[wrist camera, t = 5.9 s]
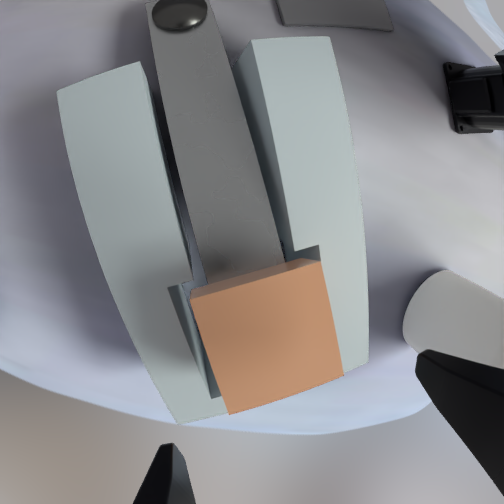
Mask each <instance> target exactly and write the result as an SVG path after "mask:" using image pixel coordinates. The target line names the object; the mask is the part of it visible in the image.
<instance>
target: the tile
mask: <svg viewBox="0 0 504 504" xmlns="http://www.w3.org/2000/svg"><path fill="white" fill-rule="evenodd" d="M190 303H191V306H192V309H193V313H194V316H195V319H196V322H197V325H198V328H199V332H200V335H201V338H202V341H203V344H204V347H205V350H206V353H207V356H208V358H209V361H210V364H211V367H212V370H213V373H214V376H215V378H216V381H217V384H218V387H219V389H220V392H221V395H222V398H223V400H224V403H225V406H226V408H227V411H228V413H229V415H231V414H234V413H238V412H242V411H245V410H248V409H252V408H255V407H258V406H262V405H265V404H268V403H271V402H274V401H277V400H280V399H283V398H286V397H289V396H292V395H295V394H298V393H300V392H303V391H306V390H309V389H311V388H314V387H316V386H319V385H322V384H324V383H327V382H329V381H332V380H334V379H337V378H339V377H341V376H344V373H343V367H342V361H341V356H340V350H339V345H338V340H337V335H336V330H335V325H334V320H333V315H332V310H331V305H330V301H329V296H328V292H327V287H326V283H325V278H324V274H323V269H322V265H321V261H316V260H310V259H304V258H299V259H295V260H292V261H289V262H285V263H282V264H278V265H275V266H271V267H268V268H265V269H261V270H258V271H254V272H251V273H247V274H244V275H240V276H237V277H233V278H230V279H226V280H223V281H219V282H216V283H212V284H209V285H205V286H201V287H198V288H194V289H191V294H190Z"/></svg>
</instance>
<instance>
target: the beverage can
mask: <svg viewBox="0 0 504 504" xmlns="http://www.w3.org/2000/svg"><path fill="white" fill-rule="evenodd" d="M403 336H404V339H405V341H406V342H407V344H408V345H409V346H411V347H412V348H413V349H414V350H415V351H416V352H417V353H421V352H422V351H424V350H426V349H431V350H435V351H438V352H442V353H445V354H449V355H452V356H456V357H460V358H463V359H467V360H471V361H474V362H478V363H482V364H486V365H489V366H493V367H497V368H501V369H504V299H503V298H501V297H499V296H497V295H496V294H494V293H492V292H490V291H488V290H487V289H485V288H483V287H481V286H479V285H477V284H475V283H474V282H472V281H470V280H468V279H466V278H464V277H462V276H460V275H458V274H456V273H454V272H452V271H449V270H443V271H439V272H437V273H435V274H433V275H432V276H430V277H429V278H428V279H427V280H425V281H424V282H423V283H422V285H421V286H420V287H419V288H418V289H417V291H416V292H415V294H414V295H413V297H412V299H411V300H410V302H409V305H408V307H407V309H406V312H405V315H404V320H403Z"/></svg>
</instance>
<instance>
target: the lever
mask: <svg viewBox="0 0 504 504" xmlns="http://www.w3.org/2000/svg"><path fill="white" fill-rule="evenodd" d="M145 5H146V12H147V18H148V24H149V30H150V36H151V42H152V48H153V53H154V59H155V64H156V70H157V75H158V80H159V85H160V90H161V95H162V100H163V105H164V110H165V114H166V119H167V124H168V128H169V133H170V137H171V142H172V146H173V151H174V155H175V159H176V164H177V168H178V172H179V176H180V180H181V184H182V188H183V193H184V197H185V201H186V204H187V208H188V212H189V216H190V220H191V224H192V228H193V231H194V235H195V239H196V243H197V246H198V250H199V254H200V257H201V261H202V264H203V268H204V272H205V275H206V279H207V282H208V285H209V284H212V283H216V282H219V281H223V280H226V279H230V278H233V277H237V276H240V275H244V274H247V273H251V272H254V271H258V270H261V269H265V268H268V267H271V266H275V265H278V264H282V263H285V260H284V256H283V252H282V248H281V244H280V241H279V237H278V233H277V229H276V225H275V222H274V218H273V214H272V210H271V207H270V203H269V199H268V195H267V192H266V188H265V184H264V181H263V177H262V174H261V170H260V166H259V163H258V159H257V156H256V152H255V149H254V145H253V142H252V138H251V135H250V131H249V128H248V124H247V121H246V117H245V114H244V111H243V107H242V104H241V100H240V97H239V94H238V90H237V87H236V84H235V80H234V77H233V74H232V71H231V67H230V64H229V61H228V58H227V54H226V51H225V48H224V45H223V42H222V39H221V35H220V32H219V29H218V26H217V23H216V20H215V17H214V14H213V11H212V8H211V5H210V2H209V0H158V1H153V2H149V3H145Z"/></svg>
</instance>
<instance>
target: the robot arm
mask: <svg viewBox="0 0 504 504" xmlns="http://www.w3.org/2000/svg"><path fill="white" fill-rule="evenodd" d="M494 56H495V58H496V60H497V61H498V63H499V65H495V66H486V67H478V68H475V67H471V66H467V65H462V64H457V63H451V62H446V63H444V65H443V66H444V71H445V75H446V80H447V85H448V89H449V95H450V100H451V106H452V112H453V118H454V125H455V130H456V132H457V133H458V134H469V133H492V132H493V130H504V50H502V51H500V52H498V53H497V54H495V55H494ZM415 373H416V376H417V378H418V379H419V381H420V383H421V384H422V386H423V387H424V389H425V390H426V392H427V394H428V395H429V397H430V398H431V400H432V402H433V403H434V405H435V406H436V408H437V409H438V410H439V411H440V413H441V414H442V415H443V417H444V418H445V419H446V420H447V422H448V423H449V424H450V425H451V427H452V428H453V429H454V430H455V432H456V433H457V434H458V435H459V437H460V438H461V439H462V441H463V442H464V443H465V445H466V446H467V447H468V448H469V450H470V451H471V452H472V454H473V455H474V456H475V458H476V459H477V460H478V461H479V463H480V464H481V466H482V467H483V468H484V470H485V471H486V472H487V474H488V475H489V476H490V478H491V479H492V480H493V482H494V483H495V484H496V486H497V487H498V489H499V490H500V492H501V493H502V494H503V496H504V369H501V368H497V367H493V366H489V365H486V364H482V363H478V362H474V361H471V360H467V359H463V358H460V357H456V356H452V355H449V354H445V353H442V352H438V351H435V350H431V349H426V350H424V351H422V352H421V353H419V354H418V356H417V362H416V368H415ZM133 504H196V503H195V498H194V494H193V490H192V486H191V483H190V479H189V474H188V470H187V466H186V462H185V459H184V457H183V455H182V454H181V452H180V451H179V450H178V448H177V447H176V446H175V444H174V443H167V444H162V445H161V446H160V447H159V449H158V451H157V453H156V455H155V457H154V459H153V462H152V464H151V466H150V468H149V470H148V472H147V474H146V477H145V479H144V481H143V483H142V485H141V487H140V489H139V491H138V493H137V496H136V498H135V500H134V502H133Z"/></svg>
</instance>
